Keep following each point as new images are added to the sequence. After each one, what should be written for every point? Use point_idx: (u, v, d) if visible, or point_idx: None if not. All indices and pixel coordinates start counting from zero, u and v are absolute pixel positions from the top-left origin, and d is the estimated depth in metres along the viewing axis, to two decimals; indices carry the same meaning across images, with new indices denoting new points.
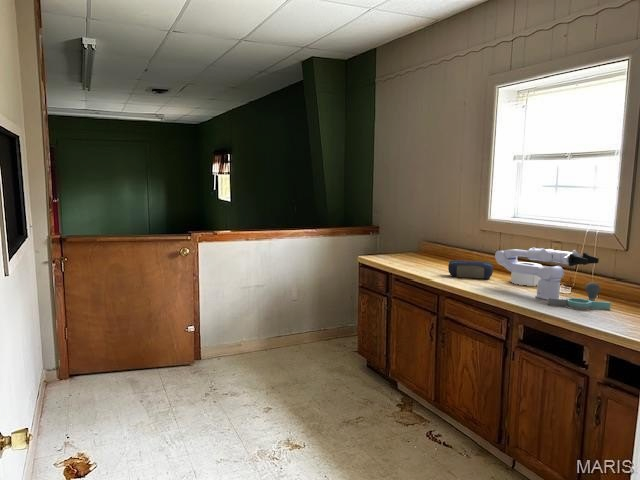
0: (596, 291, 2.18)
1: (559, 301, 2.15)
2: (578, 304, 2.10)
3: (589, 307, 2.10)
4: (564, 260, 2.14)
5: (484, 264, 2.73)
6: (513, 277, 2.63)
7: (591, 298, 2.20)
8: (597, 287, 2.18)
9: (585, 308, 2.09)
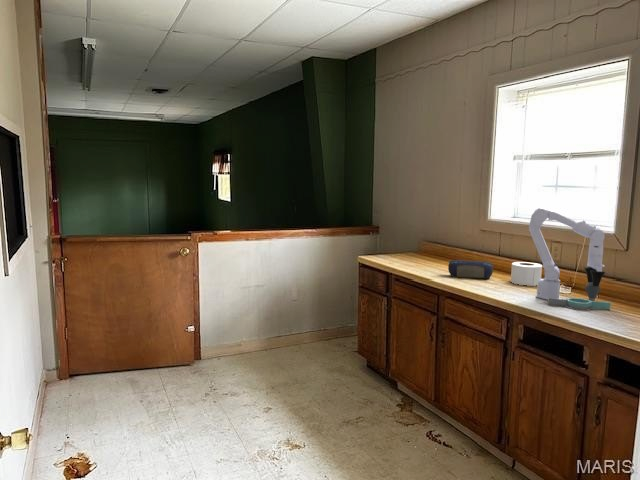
0: (596, 291, 2.18)
1: (559, 301, 2.15)
2: (578, 304, 2.10)
3: (589, 307, 2.10)
4: (598, 269, 2.12)
5: (484, 264, 2.73)
6: (513, 277, 2.63)
7: (591, 298, 2.20)
8: (597, 287, 2.18)
9: (585, 308, 2.09)
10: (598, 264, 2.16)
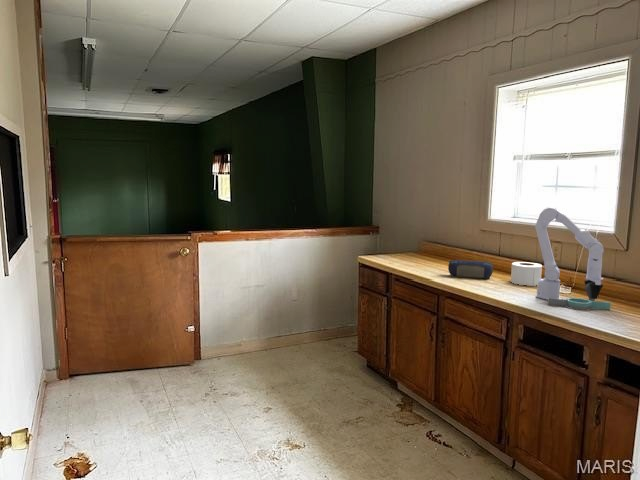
0: None
1: (559, 301, 2.15)
2: (578, 304, 2.10)
3: (589, 307, 2.10)
4: (597, 282, 2.13)
5: (484, 264, 2.73)
6: (513, 277, 2.63)
7: (591, 298, 2.20)
8: None
9: (585, 308, 2.09)
10: (597, 277, 2.17)
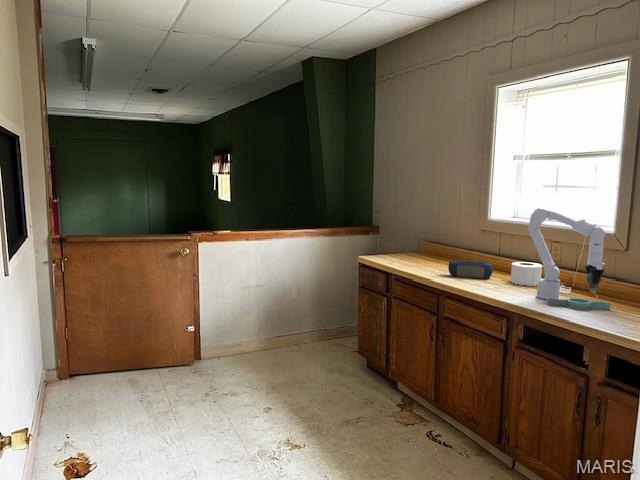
0: None
1: (559, 301, 2.15)
2: (578, 304, 2.10)
3: (589, 307, 2.10)
4: (598, 267, 2.12)
5: (484, 264, 2.74)
6: (513, 277, 2.63)
7: (592, 288, 2.19)
8: None
9: (585, 308, 2.09)
10: (598, 262, 2.16)
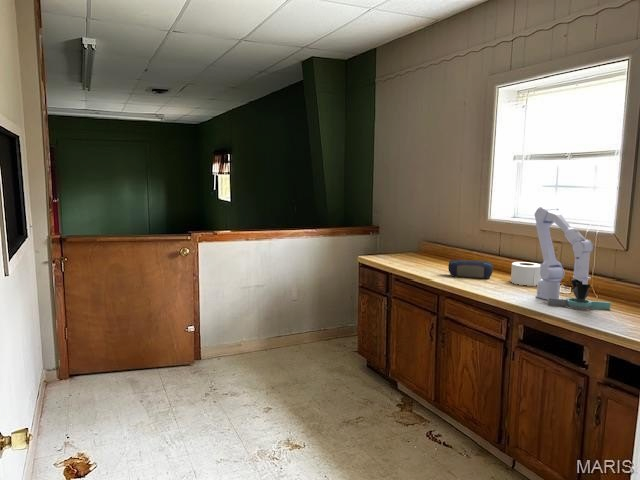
0: None
1: (559, 301, 2.15)
2: (578, 304, 2.10)
3: (589, 307, 2.10)
4: (584, 281, 2.06)
5: (484, 264, 2.74)
6: (513, 277, 2.63)
7: (580, 302, 2.12)
8: None
9: (585, 308, 2.09)
10: (584, 276, 2.10)
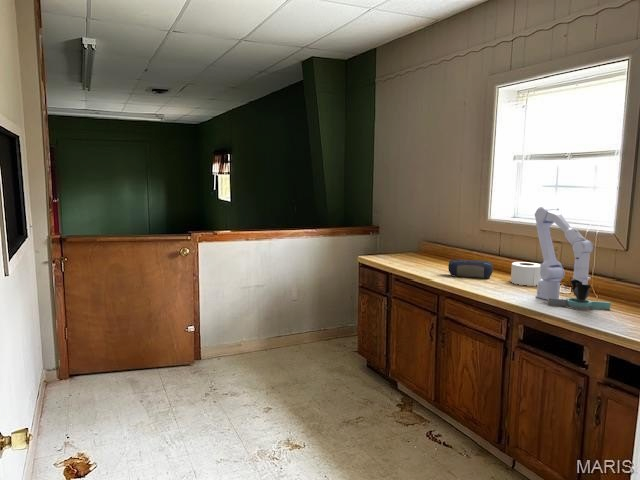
0: (586, 295, 2.10)
1: (559, 301, 2.15)
2: (578, 304, 2.10)
3: (589, 307, 2.10)
4: (584, 282, 2.06)
5: (484, 263, 2.75)
6: (513, 277, 2.63)
7: (580, 302, 2.12)
8: (587, 291, 2.10)
9: (585, 308, 2.09)
10: (584, 277, 2.10)
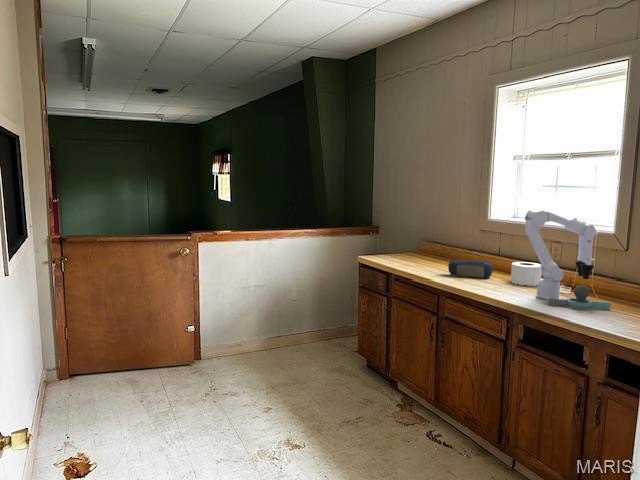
0: (586, 295, 2.10)
1: (559, 301, 2.15)
2: (578, 304, 2.10)
3: (589, 307, 2.10)
4: (588, 262, 2.21)
5: (484, 263, 2.75)
6: (513, 277, 2.63)
7: (580, 302, 2.12)
8: (586, 290, 2.10)
9: (585, 308, 2.09)
10: (588, 258, 2.25)
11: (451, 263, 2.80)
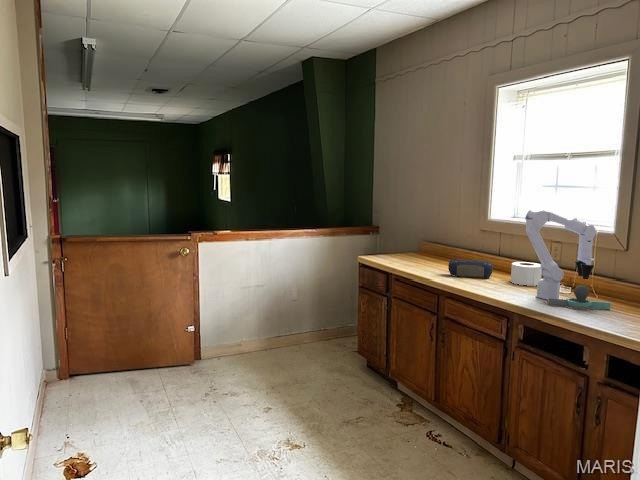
0: (586, 295, 2.10)
1: (559, 301, 2.15)
2: (578, 304, 2.10)
3: (589, 307, 2.10)
4: (588, 262, 2.21)
5: (484, 263, 2.75)
6: (513, 277, 2.63)
7: (580, 302, 2.12)
8: (586, 291, 2.10)
9: (585, 308, 2.09)
10: (588, 258, 2.25)
11: (451, 263, 2.81)
